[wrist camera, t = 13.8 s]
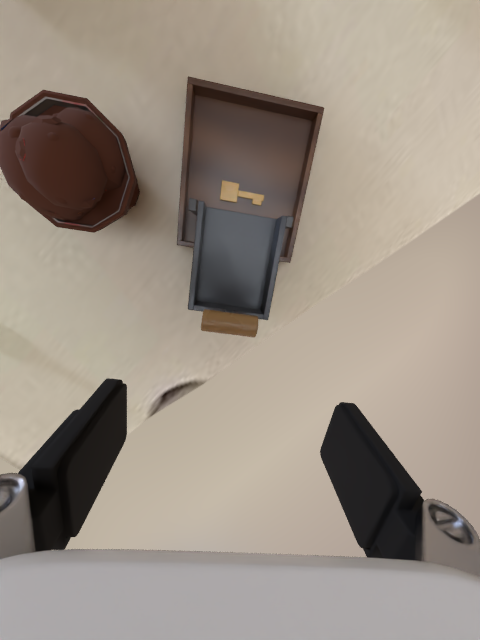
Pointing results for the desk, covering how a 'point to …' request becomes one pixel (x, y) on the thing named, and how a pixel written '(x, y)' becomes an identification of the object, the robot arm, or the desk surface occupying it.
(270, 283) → the scoop
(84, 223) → the ice cream bowl
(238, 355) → the desk surface
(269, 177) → the tray
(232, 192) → the key
